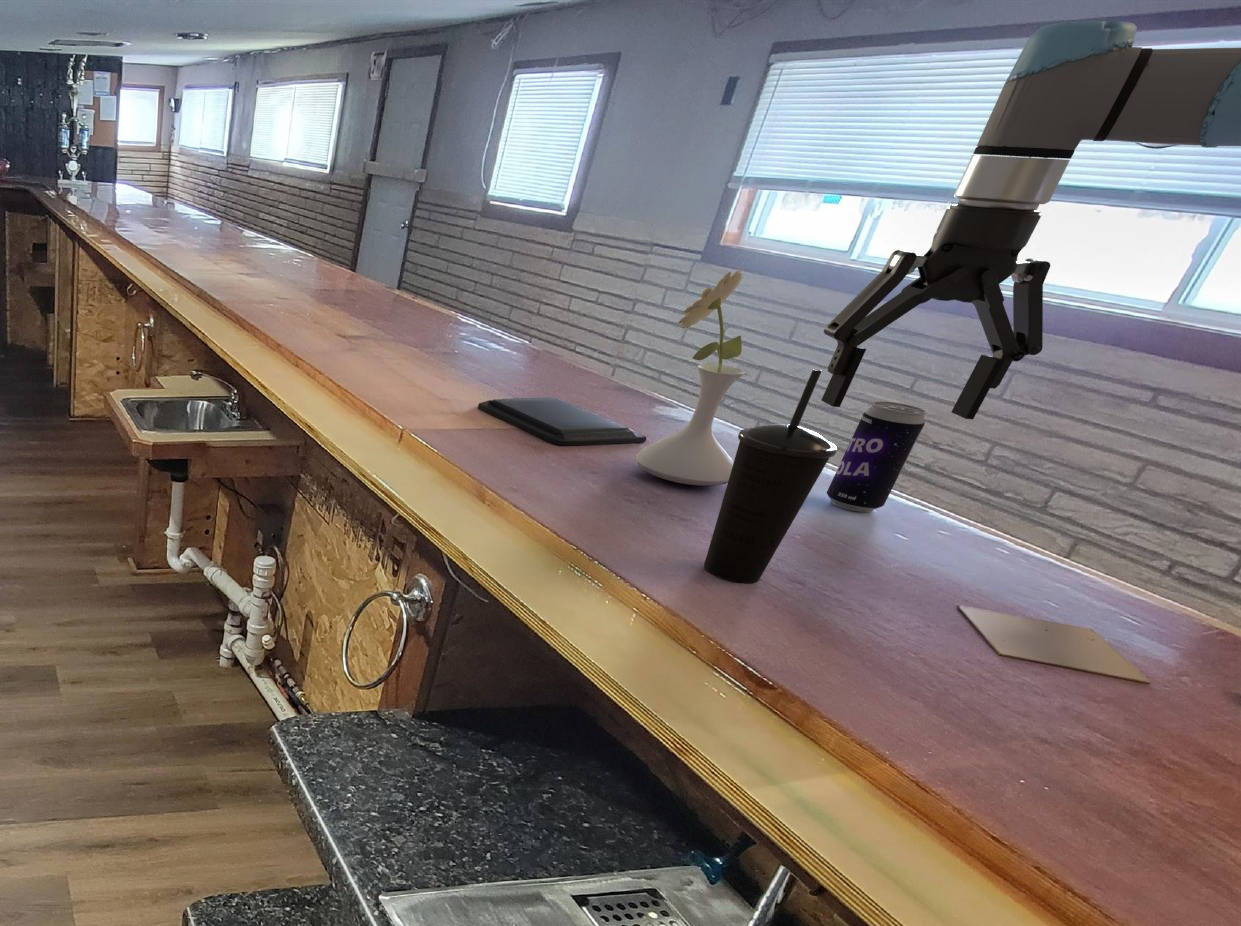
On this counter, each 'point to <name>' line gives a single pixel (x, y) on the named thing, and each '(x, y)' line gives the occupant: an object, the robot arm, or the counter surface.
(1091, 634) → the cork pad
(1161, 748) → the counter surface
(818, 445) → the drinking cup
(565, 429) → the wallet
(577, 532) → the counter surface
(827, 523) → the counter surface
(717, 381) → the flower in vase
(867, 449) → the beverage can
